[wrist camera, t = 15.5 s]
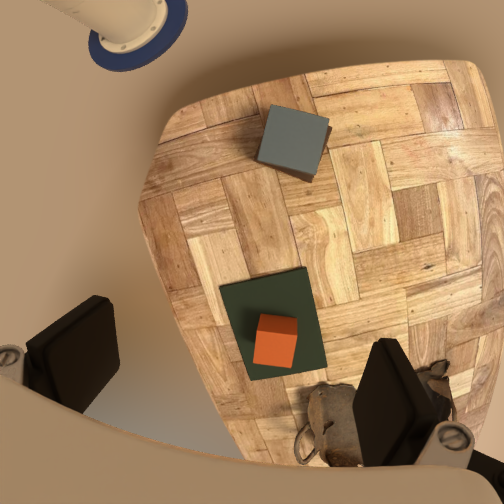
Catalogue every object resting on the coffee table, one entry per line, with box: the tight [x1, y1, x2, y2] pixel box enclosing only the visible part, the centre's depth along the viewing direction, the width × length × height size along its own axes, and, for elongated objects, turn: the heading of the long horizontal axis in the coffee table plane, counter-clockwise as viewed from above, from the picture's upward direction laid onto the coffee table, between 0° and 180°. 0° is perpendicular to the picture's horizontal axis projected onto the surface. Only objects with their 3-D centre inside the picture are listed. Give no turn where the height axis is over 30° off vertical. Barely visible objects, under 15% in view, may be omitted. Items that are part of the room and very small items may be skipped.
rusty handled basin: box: [294, 360, 457, 467], centre depth 39 cm, size 20×28×10 cm
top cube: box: [253, 314, 297, 368], centre depth 39 cm, size 5×5×5 cm
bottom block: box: [253, 126, 332, 183], centre depth 34 cm, size 7×7×4 cm
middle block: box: [257, 104, 329, 175], centre depth 30 cm, size 6×6×4 cm
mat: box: [219, 267, 328, 381], centre depth 42 cm, size 16×12×1 cm
